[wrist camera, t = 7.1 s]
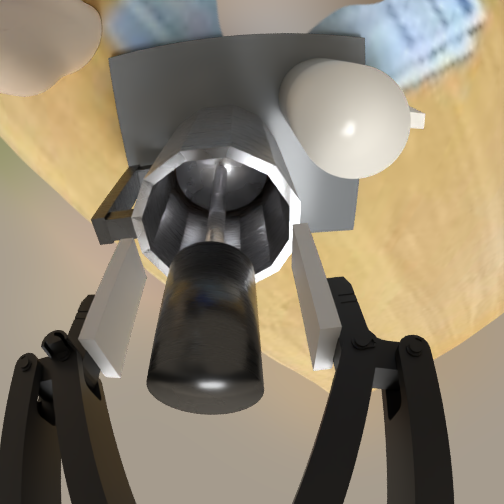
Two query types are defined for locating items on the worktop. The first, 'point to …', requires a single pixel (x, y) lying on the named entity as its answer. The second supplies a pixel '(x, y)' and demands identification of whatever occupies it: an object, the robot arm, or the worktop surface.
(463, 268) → the worktop surface
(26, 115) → the worktop surface
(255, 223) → the press carafe
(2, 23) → the water bottle
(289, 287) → the worktop surface
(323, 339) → the robot arm
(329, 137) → the cream mug
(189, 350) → the plunger
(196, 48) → the slate board
